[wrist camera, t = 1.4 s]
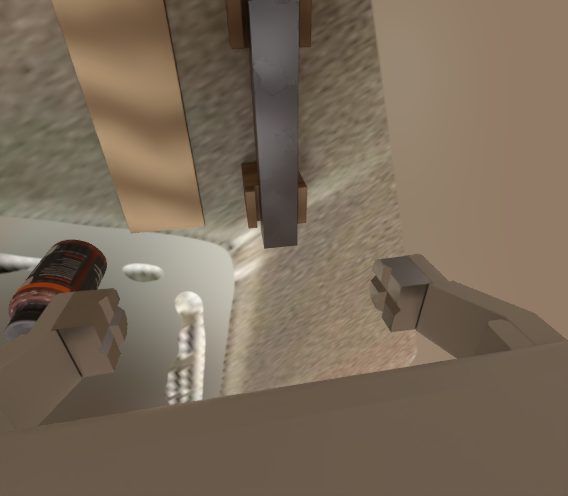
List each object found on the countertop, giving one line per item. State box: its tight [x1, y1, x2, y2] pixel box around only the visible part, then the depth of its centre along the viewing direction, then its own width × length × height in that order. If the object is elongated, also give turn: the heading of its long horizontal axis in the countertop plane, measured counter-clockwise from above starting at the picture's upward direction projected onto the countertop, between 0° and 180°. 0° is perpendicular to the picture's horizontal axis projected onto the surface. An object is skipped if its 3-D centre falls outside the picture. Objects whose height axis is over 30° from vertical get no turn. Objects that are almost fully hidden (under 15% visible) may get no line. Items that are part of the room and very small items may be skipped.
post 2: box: [241, 163, 307, 228], centre depth 32 cm, size 4×5×7 cm, turn 91°
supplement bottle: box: [5, 240, 107, 342], centre depth 32 cm, size 6×6×11 cm
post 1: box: [226, 0, 312, 49], centre depth 24 cm, size 4×5×7 cm, turn 91°
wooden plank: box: [52, 0, 205, 233], centre depth 29 cm, size 24×8×1 cm, turn 1°
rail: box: [245, 0, 299, 249], centre depth 24 cm, size 20×3×3 cm, turn 1°
